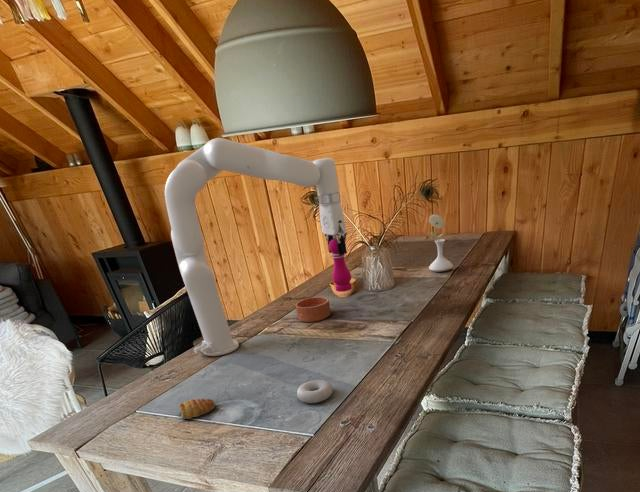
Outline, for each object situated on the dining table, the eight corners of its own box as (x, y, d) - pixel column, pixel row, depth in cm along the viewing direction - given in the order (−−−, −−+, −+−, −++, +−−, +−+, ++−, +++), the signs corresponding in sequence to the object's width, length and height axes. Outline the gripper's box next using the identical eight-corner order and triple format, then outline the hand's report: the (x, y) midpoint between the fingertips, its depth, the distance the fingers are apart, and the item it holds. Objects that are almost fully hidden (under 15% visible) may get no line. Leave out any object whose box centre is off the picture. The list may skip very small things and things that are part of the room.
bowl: (314, 324, 180) (311, 309, 177) (291, 320, 187) (288, 305, 184) (337, 313, 188) (335, 298, 185) (315, 309, 196) (312, 295, 192)
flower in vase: (457, 269, 223) (456, 212, 209) (438, 275, 218) (436, 217, 204) (440, 265, 232) (438, 211, 219) (422, 270, 228) (418, 215, 214)
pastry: (213, 401, 134) (208, 390, 132) (218, 411, 129) (213, 399, 127) (180, 412, 131) (175, 401, 129) (183, 422, 126) (178, 410, 124)
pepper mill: (352, 291, 175) (343, 234, 164) (333, 293, 175) (323, 237, 165) (353, 285, 181) (345, 231, 170) (335, 287, 182) (326, 233, 171)
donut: (303, 389, 135) (293, 406, 126) (301, 378, 133) (291, 394, 125) (337, 387, 133) (328, 404, 125) (335, 377, 131) (326, 393, 123)
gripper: (308, 200, 166) (317, 252, 175) (332, 202, 153) (341, 258, 163) (326, 196, 169) (334, 248, 179) (351, 198, 157) (359, 253, 166)
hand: (337, 252), depth 171 cm, fingers closed on pepper mill, 6 cm apart
